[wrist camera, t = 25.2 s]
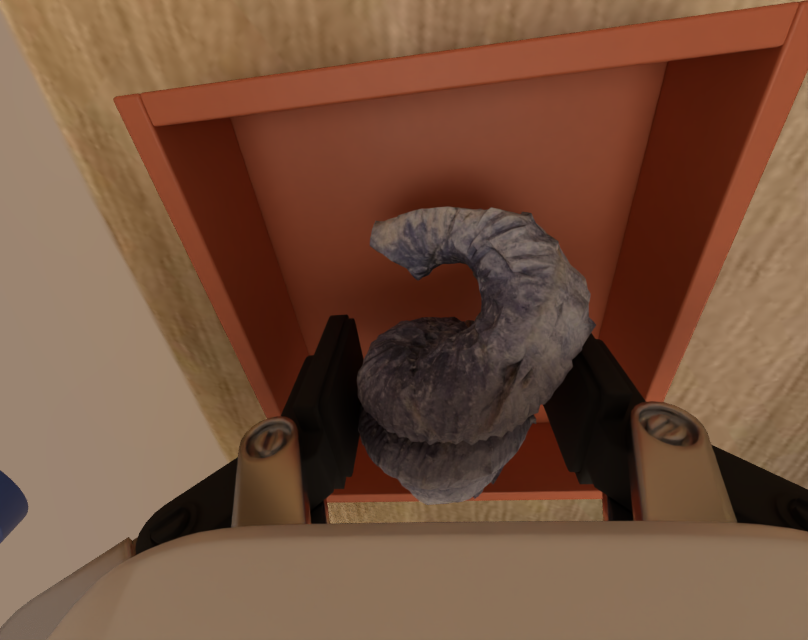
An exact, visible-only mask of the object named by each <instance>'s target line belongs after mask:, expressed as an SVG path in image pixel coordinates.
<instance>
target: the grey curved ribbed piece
mask: <svg viewBox="0 0 808 640" xmlns="http://www.w3.org/2000/svg"><path fill="white" fill-rule="evenodd" d="M370 246H371V247H372V248H373V249H374V250H376V251H377V252H379V253H381V254H383V255H384V256H386V257H387V258H388V259H390V260H391V261H392V262H394V263H396V264H398V265H400V266H402V267H404V268H406V269H407V270H408V271H409V272H410V274H411V275H412V276H413V277H414V278H415V279H416V280H417V281H419V280H420V279H422V278H423V277H425V276H428V275H429V274H430V273H431V272H432V270H433V269H435V268H436V267H438V266H440V265H442V264H456V263H462V264H466V265H468V267H469V268H470V269H471V270H472V271H473V276H474V277H475V278H476V279H477V280H478V283H479V291H480V294H481V303H482V304H481V312H480V313H479V314H478V315H477V317H476V319H475V320H474V321H473V320H467V321H465V322H464V321H460V320H459V319H457V318H456V317H442V318H440V317H422V318H418V319H415V320H411V321H408V320H406V321H400V322H399V323H398V324H397V325H395V326H393V327H392V328H390V329H389V330H387V331H386V332H384V333H382V334H380V335H378V337H377V339H376V340H374V341H373V342H371V344H370V347H369V350H368V352H367V354H366V356H365V358H364V360H363V365H362V367H361V368H360V370H359V371H358V375H357V387H358V399H359V400H360V402H361V406H360V411H359V424H358V431H359V433H360V437H361V442H362V444H363V445H364V446H365V449H366V451H367V454H368V456H369V457H370V458H371V460H372V461H373V462H374V463H375V464H376V465H377V466H379V467H380V468H381V469H382V470H383V471H384V473H386V474H387V475H389V476H391V477H393V478H396V479H398V480H399V482H400V483H401V484H402V486H403V487H405V488H406V489H408V490H409V491H410V492H411V493H412V495H413V496H414V497H415V498H417V499H418V500H419V501H420V502H422V503H425V504H427V505H430V504H447V503H452V502H462V501H465V500H469V499H470V498H472V497H473V498H474V499H475V498H477V497H478V496H479V495H480V494H481V493H482V492H483V489H484V487H486V486H487V485H488V484H489V483H490V482H491V483H492V484H494V483H495V481H496V479H497V478H498V477H499V475H500V473H501V471H502V469H503V467H504V465H505V464H506V463H507V462H508V461H509V460H510V459H511V458H512V457H513V456H514V455H515V454H516V453H517V452H518V450H519V448H520V447H521V445H522V443H523V441H524V440H525V438H526V435H527V432H528V430H529V428H530V427H531V425H532V423H534V424H536V418H535V416H534V414H536V413H538V412H539V408H540V405H544V404H546V403H547V402H548V401H549V400H550V399H551V397H552V395H553V393H554V391H555V390H556V389H557V388H558V387H559V386H560V385H561V383H562V382H563V381H564V379H565V377H566V375H567V373H568V372H569V371H570V370H571V369H572V368H573V364H572V359H573V358H575V357H576V356H577V355H578V354H579V353H580V352H581V351H582V346H583V345H584V343H585V341H586V340H587V338H588V337H589V335H590V334H591V332H592V331H593V329H594V328H595V326H596V324H595V323H594V321H593V320H592V319H591V318H590V317H589V301H590V296H591V293H590V292H589V290H588V287H587V282H586V278H585V277H584V276H583V275H582V274H581V273H580V272H579V271H578V270H577V269H575V268H574V267H573V266H572V265H570V263H569V261H568V259H567V258H566V256H565V255H564V253H563V252H562V250H561V248H560V245H559V242H558V240H556V239H555V238H553V237H552V236H550V235H549V234H547V233H546V232H545V231H544V229H543V228H541V227H540V226H539V225H538V224H537V223H536V222H535V220H534V218H533V215H532V213H528V212H522V213H521V214H518V213H514V212H510V211H505V210H501V209H496V208H492V207H491V208H489V209H487V210H483V209H482V208H481V209H467V208H459V207H450V206H447V207H436V208H430V209H418V210H414V211H411V212H407V213H404V214H401V215H398V216H397V217H395V218H391V219H388V220H385V221H375V223H374V225H373V228H372V232H371V237H370Z"/></svg>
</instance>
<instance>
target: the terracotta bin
mask: <svg viewBox="0 0 808 640" xmlns="http://www.w3.org/2000/svg"><path fill="white" fill-rule="evenodd" d="M807 70H808V0H806V1H801V2H791V3H784V4H777V5H770V6H763V7H755V8H748V9H741V10H734V11H727V12H720V13H712V14H705V15H698V16H691V17H684V18H676V19H669V20H662V21H655V22H648V23H641V24H633V25H626V26H619V27H612V28H605V29H597V30H590V31H583V32H576V33H569V34H561V35H554V36H547V37H540V38H533V39H526V40H518V41H511V42H504V43H497V44H490V45H482V46H475V47H468V48H461V49H454V50H447V51H439V52H432V53H425V54H418V55H411V56H403V57H396V58H389V59H382V60H375V61H367V62H360V63H353V64H346V65H339V66H332V67H324V68H317V69H310V70H303V71H296V72H288V73H281V74H274V75H267V76H260V77H253V78H245V79H238V80H231V81H224V82H217V83H209V84H202V85H195V86H188V87H181V88H173V89H166V90H159V91H152V92H145V93H141V94H131V95H124V96H116V97H115V98H114V103H115V105H116V107H117V109H118V111H119V113H120V115H121V117H122V119H123V121H124V123H125V125H126V128H127V130H128V132H129V134H130V136H131V138H132V140H133V142H134V144H135V146H136V148H137V150H138V152H139V154H140V157H141V159H142V161H143V163H144V165H145V167H146V169H147V171H148V173H149V175H150V177H151V179H152V181H153V183H154V186H155V188H156V190H157V192H158V194H159V196H160V198H161V200H162V202H163V204H164V206H165V208H166V210H167V212H168V214H169V217H170V219H171V221H172V223H173V225H174V227H175V229H176V231H177V233H178V235H179V237H180V239H181V241H182V243H183V246H184V248H185V250H186V252H187V254H188V256H189V258H190V260H191V262H192V264H193V266H194V268H195V270H196V272H197V275H198V277H199V279H200V281H201V283H202V285H203V287H204V289H205V291H206V293H207V295H208V297H209V299H210V301H211V303H212V306H213V308H214V310H215V312H216V314H217V316H218V318H219V320H220V322H221V324H222V326H223V328H224V330H225V332H226V335H227V337H228V339H229V341H230V343H231V345H232V347H233V349H234V351H235V353H236V355H237V357H238V359H239V361H240V364H241V366H242V368H243V370H244V372H245V374H246V376H247V378H248V380H249V382H250V384H251V386H252V388H253V390H254V393H255V395H256V397H257V399H258V401H259V403H260V405H261V407H262V409H263V411H264V413H265V415H266V417H267V418H271V417H276V416H281V414H282V411H283V409H284V407H285V405H286V402H287V400H288V398H289V395H290V393H291V391H292V388H293V386H294V384H295V381H296V379H297V377H298V374H299V372H300V370H301V367H302V365H303V363H304V360H305V359H306V357H307V356H309V355H314V353H315V351H316V348H317V346H318V344H319V341H320V339H321V336H322V334H323V331H324V329H325V326H326V324H327V321H328V319H329V317H330V316H331V315H345V314H347V315H348V316H349V319H350V318H354V320H355V323H356V327H357V332H358V336H359V341H360V345H361V350H362V354H363V358H365V356H366V354H367V352H368V350H369V347H370V344H371V342H373V341H374V340H376V339H377V337H378V335H380V334H382V333H384V332H386V331H387V330H389V329H390V328H392V327H393V326H395V325H397V324H398V323H399V322H400V321H406V320H408V321H411V320H415V319H418V318H422V317H440V318H442V317H456V318H457V319H459V320H460V321H464V322H465V321H467V320H473V321H474V320H475V319H476V317H477V315H478V314H479V313H480V312H481V304H482V303H481V294H480V291H479V283H478V280H477V279H476V278H475V277H474V276H473V271H472V270H471V269H470V268H469V267H468V265H466V264H462V263H456V264H442V265H440V266H438V267H436V268H435V269H433V270H432V272H431V273H430V274H429V275H428V276H425V277H423V278H422V279H420V280H419V281H417V280H416V279H415V278H414V277H413V276H412V275H411V274H410V272H409V271H408V270H407V269H406V268H404V267H402V266H400V265H398V264H396V263H394V262H392V261H391V260H390V259H388V258H387V257H386V256H384V255H383V254H381V253H379V252H377V251H376V250H374V249H373V248H372V247H371V246H370V237H371V232H372V228H373V225H374V223H375V221H385V220H388V219H391V218H395V217H397V216H398V215H401V214H404V213H407V212H411V211H414V210H418V209H430V208H436V207H447V206H450V207H459V208H467V209H481V208H482V209H483V210H487V209H489V208H491V207H492V208H496V209H501V210H505V211H510V212H514V213H518V214H521V213H522V212H528V213H532V215H533V218H534V220H535V222H536V223H537V224H538V225H539V226H540V227H541V228H543V229H544V231H545V232H546V233H547V234H549V235H550V236H552V237H553V238H555V239H556V240H558V242H559V245H560V248H561V250H562V252H563V253H564V255H565V256H566V258H567V259H568V261H569V263H570V265H572V266H573V267H574V268H575V269H577V270H578V271H579V272H580V273H581V274H582V275H583V276H584V277H585V278H586V282H587V287H588V290H589V292H590V293H591V296H590V301H589V317H590V318H591V319H592V320H593V321H594V323H595V324H596V326H595V328H594V329H593V331H592V332H591V333H592V334H593V336H594V337H595V339H600V340H602V341H603V342H604V343H605V345H606V346H607V347H608V349H609V350H610V352H611V353H612V354H613V356H614V357H615V359H616V360H617V361H618V363H619V364H620V366H621V367H622V368H623V370H624V371H625V373H626V374H627V375H628V377H629V378H630V380H631V381H632V382H633V384H634V385H635V387H636V388H637V389H638V391H639V392H640V394H641V395H642V396H643V398H644V399H645V401H646V402H649V401H656V402H663V401H664V399H665V397H666V394H667V392H668V390H669V388H670V385H671V383H672V381H673V378H674V376H675V374H676V371H677V369H678V367H679V365H680V362H681V360H682V358H683V355H684V353H685V351H686V348H687V346H688V344H689V342H690V339H691V337H692V335H693V332H694V330H695V328H696V326H697V323H698V321H699V319H700V316H701V314H702V312H703V309H704V307H705V305H706V303H707V300H708V298H709V296H710V293H711V291H712V289H713V286H714V284H715V282H716V280H717V277H718V275H719V273H720V270H721V268H722V266H723V263H724V261H725V259H726V257H727V254H728V252H729V250H730V247H731V245H732V243H733V240H734V238H735V236H736V234H737V231H738V229H739V227H740V224H741V222H742V220H743V218H744V215H745V213H746V211H747V208H748V206H749V204H750V201H751V199H752V197H753V195H754V192H755V190H756V188H757V185H758V183H759V181H760V178H761V176H762V174H763V172H764V169H765V167H766V165H767V162H768V160H769V158H770V155H771V153H772V151H773V149H774V146H775V144H776V142H777V139H778V137H779V135H780V133H781V130H782V128H783V126H784V123H785V121H786V119H787V116H788V114H789V112H790V110H791V107H792V105H793V103H794V100H795V98H796V96H797V93H798V91H799V89H800V87H801V84H802V82H803V80H804V77H805V75H806V73H807ZM534 416H535V418H536V424H534V423H532V425H531V427H530V428H529V430H528V432H527V435H526V438H525V440H524V441H523V443H522V445H521V447H520V448H519V450H518V452H517V453H516V454H515V455H514V456H513V457H512V458H511V459H510V460H509V461H508V462H507V463H506V464H505V465H504V467H503V469H502V471H501V473H500V475H499V477H498V478H497V479H496V481H495V483H494V484H492V483H491V482H490V483H489V484H488V485H487V486H486V487H484V489H483V492H482V493H481V494H480V495H479V496H478V497H477V498H475V499H474V498H473V497H472V498H470V499H469V500H465V501H479V500H555V499H602V492H601V491H599V490H598V489H596V488H595V487H594V485H593V484H579V482H578V479H577V477H576V474H575V472H569V471H568V469H567V467H566V464H565V462H564V459H563V456H562V454H561V451H560V449H559V446H558V443H557V441H556V438H555V435H554V433H553V430H552V427H551V425H550V422H549V420H548V417H547V414H546V412H545V409H544V406H543V405H540V408H539V412H538V413H536V414H534ZM403 501H419V500H418V499H417V498H415V497H414V496H413V495H412V493H411V492H410V491H409V490H408V489H406V488H405V487H403V486H402V484H401V483H400V482H399V480H398V479H396V478H393V477H391V476H389V475H387V474H386V473H384V471H383V470H382V469H381V468H380V467H379V466H377V465H376V464H375V463H374V462H373V461H372V460H371V458H370V457H369V456H368V454H367V451H366V449H365V446H364V445H363V444H362V442H361V437H359V442H358V448H357V453H356V459H355V464H354V470H353V474H352V477H346V482H345V487H344V489H334V491H333V493H332V494H331V495H329V496H328V497H327V503H328V502H403Z"/></svg>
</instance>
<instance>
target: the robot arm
mask: <svg viewBox="0 0 808 640" xmlns="http://www.w3.org/2000/svg"><path fill="white" fill-rule="evenodd" d="M363 360H364V358H363V354H362V350H361V345H360V341H359V336H358V332H357V327H356V323H355V320H354V318H350V319H349V316H348V315H347V314H345V315H331V316H330V317H329V319H328V321H327V324H326V326H325V329H324V331H323V334H322V336H321V339H320V341H319V344H318V346H317V348H316V351H315V353H314V355H309V356H307V357H306V359H305V360H304V363H303V365H302V367H301V370H300V372H299V374H298V377H297V379H296V381H295V384H294V386H293V388H292V391H291V393H290V395H289V398H288V400H287V402H286V405H285V407H284V409H283V411H282V414H281V416H276V417H271V418H267V419H265V420H263V421H260V422H259V423H257V424H256V425H254V426H253V427H252V428H251V429H250V430H249V431H248V432H247V433H246V434H245V435H244V437H243V438H242V440H241V443H240V446H239V453H238V457H237V458H236V459H234V460H233V461H231V462H230V463H228V464H227V465H225V466H224V467H222V468H221V469H219V470H218V471H216V472H215V473H213V474H211V475H210V476H208V477H207V478H205V479H204V480H202V481H201V482H200V483H198V484H196V485H195V486H193V487H192V488H190V489H189V490H187V491H186V492H184V493H183V494H181V495H179V496H178V497H176V498H175V499H173V500H172V501H170V502H169V503H167V504H166V505H164V506H163V507H162V508H161V509H160V510H158V511H157V512H155V513H154V514H153V516H152V517H151V518H150V519H149V520H148V521H147V522H146V524H145V525H144V527H143V528H142V530H141V531H140V533H139V536H138V538H136V539H134V540H133V541H132V540H131V539H130V538H129V537H128V538H127V539H125V540H123V541H122V542H120V543H119V544H117V545H116V546H114V547H113V548H111V549H110V550H108V551H106V552H105V553H103V554H102V555H100V556H99V557H97V558H96V559H94V560H92V561H91V562H89V563H88V564H86V565H85V566H83V567H81V568H80V569H78V570H77V571H75V572H74V573H72V574H71V575H69V576H67V577H66V578H64V579H63V580H61V581H60V582H58V583H57V584H55V585H53V586H52V587H50V588H49V589H47V590H46V591H44V592H43V593H41V594H39V595H38V596H36V597H35V598H33V599H32V600H30V601H29V602H27V604H25V605H24V606H22V607H21V608H20V609H18V610H17V611H16V612H15V613H14V614H13V615H12V616H11V617H10V618H9V619H8V620H7V621H6V622H5V623H4V624H3V626H2V627H1V628H0V640H808V490H807V489H805V488H803V487H801V486H799V485H797V484H795V483H792V482H790V481H788V480H786V479H784V478H782V477H780V476H777V475H775V474H773V473H771V472H769V471H767V470H765V469H762V468H760V467H758V466H756V465H754V464H752V463H750V462H747V461H745V460H743V459H741V458H739V457H737V456H734V455H732V454H730V453H728V452H726V451H724V450H722V449H719V448H717V447H715V446H713V445H711V442H710V439H709V436H708V433H707V431H706V429H705V428H704V426H703V424H702V423H701V422H700V421H699V420H698V419H697V418H696V417H694V416H693V415H691V414H690V413H688V412H687V411H685V410H683V409H681V408H679V407H677V406H675V405H671V404H668V403H664V402H656V401H649V402H646V401H645V399H644V398H643V396H642V395H641V394H640V392H639V391H638V389H637V388H636V387H635V385H634V384H633V382H632V381H631V380H630V378H629V377H628V375H627V374H626V373H625V371H624V370H623V368H622V367H621V366H620V364H619V363H618V361H617V360H616V359H615V357H614V356H613V354H612V353H611V352H610V350H609V349H608V347H607V346H606V345H605V343H604V342H603V341H602V340H600V339H595V337H594V336H593V334H592V333H591V334H590V335H589V337H588V338H587V340H586V341H585V343H584V345H583V346H582V351H581V352H580V353H579V354H578V355H577V356H576V357H575V358H573V359H572V364H573V368H572V369H571V370H570V371H569V372H568V373H567V375H566V377H565V379H564V381H563V382H562V383H561V385H560V386H559V387H558V388H557V389H556V390H555V391H554V393H553V395H552V397H551V399H550V400H549V401H548V402H547V403H546V404H544V405H543V406H544V409H545V412H546V414H547V417H548V420H549V422H550V425H551V427H552V430H553V433H554V435H555V438H556V441H557V443H558V446H559V449H560V451H561V454H562V456H563V459H564V462H565V464H566V467H567V469H568V471H569V472H575V474H576V477H577V479H578V482H579V484H593V485H594V487H595V488H596V489H598V490H599V491H601V492H602V503H603V521H520V522H412V523H342V524H330V520H329V513H328V505H327V497H328V496H329V495H331V494H332V493H333V491H334V489H344V487H345V482H346V477H352V474H353V470H354V464H355V459H356V453H357V448H358V442H359V437H360V433H359V431H358V424H359V411H360V406H361V402H360V400H359V399H358V387H357V375H358V371H359V370H360V368H361V367H362V365H363Z"/></svg>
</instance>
